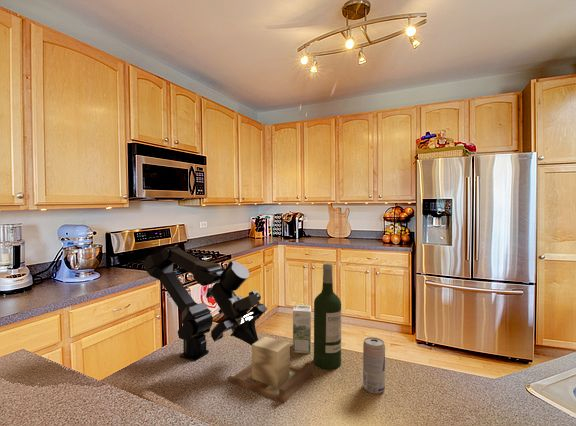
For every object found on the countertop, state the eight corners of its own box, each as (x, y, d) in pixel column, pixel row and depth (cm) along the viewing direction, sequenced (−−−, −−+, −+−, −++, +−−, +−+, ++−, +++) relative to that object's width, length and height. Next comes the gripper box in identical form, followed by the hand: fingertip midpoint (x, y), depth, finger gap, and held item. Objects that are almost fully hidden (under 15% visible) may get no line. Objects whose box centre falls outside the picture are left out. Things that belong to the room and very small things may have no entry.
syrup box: (311, 348, 99) (311, 304, 99) (310, 357, 93) (310, 310, 93) (293, 347, 99) (294, 304, 99) (292, 356, 93) (292, 310, 93)
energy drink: (385, 384, 78) (385, 338, 78) (384, 396, 73) (384, 347, 73) (364, 380, 80) (364, 335, 80) (362, 391, 75) (362, 344, 75)
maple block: (251, 378, 79) (251, 344, 79) (265, 368, 84) (265, 336, 84) (277, 387, 75) (277, 351, 75) (289, 376, 80) (289, 342, 80)
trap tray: (227, 384, 78) (227, 369, 78) (259, 361, 90) (259, 348, 90) (284, 407, 69) (284, 390, 69) (311, 378, 81) (311, 364, 81)
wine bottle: (335, 376, 82) (335, 267, 82) (309, 369, 86) (309, 264, 86) (344, 364, 89) (345, 263, 89) (320, 357, 93) (320, 260, 92)
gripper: (218, 290, 76) (253, 343, 70) (262, 276, 92) (293, 319, 86) (197, 316, 80) (228, 368, 75) (242, 298, 96) (270, 340, 91)
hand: (258, 346), depth 81 cm, fingers closed
